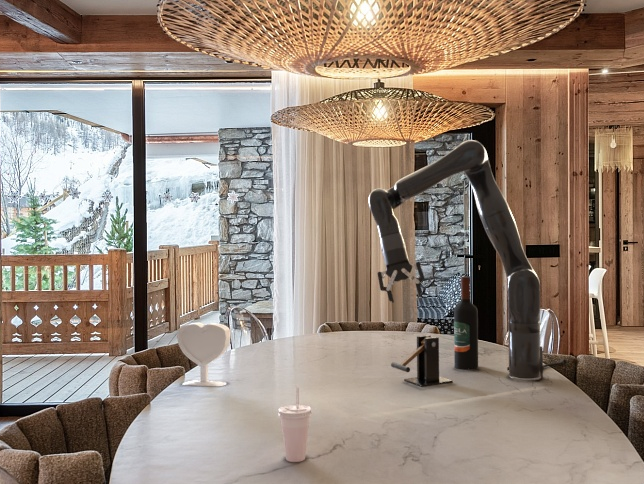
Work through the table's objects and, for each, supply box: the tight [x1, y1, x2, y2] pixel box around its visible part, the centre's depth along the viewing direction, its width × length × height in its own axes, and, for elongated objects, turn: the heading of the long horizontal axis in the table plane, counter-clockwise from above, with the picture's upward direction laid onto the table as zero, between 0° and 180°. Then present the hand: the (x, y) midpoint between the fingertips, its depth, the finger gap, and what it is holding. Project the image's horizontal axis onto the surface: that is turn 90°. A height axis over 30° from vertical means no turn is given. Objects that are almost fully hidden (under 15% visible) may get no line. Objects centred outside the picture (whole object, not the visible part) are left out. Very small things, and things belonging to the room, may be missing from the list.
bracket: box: [403, 334, 453, 388], centre depth 177 cm, size 11×9×14 cm
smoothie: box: [278, 386, 312, 463], centre depth 118 cm, size 6×6×14 cm
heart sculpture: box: [176, 322, 232, 387], centre depth 180 cm, size 16×5×18 cm, turn 79°
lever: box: [390, 336, 432, 373], centre depth 175 cm, size 13×8×2 cm
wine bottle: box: [453, 276, 479, 371], centre depth 196 cm, size 8×8×30 cm
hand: (406, 299), depth 189 cm, fingers open, 8 cm apart
